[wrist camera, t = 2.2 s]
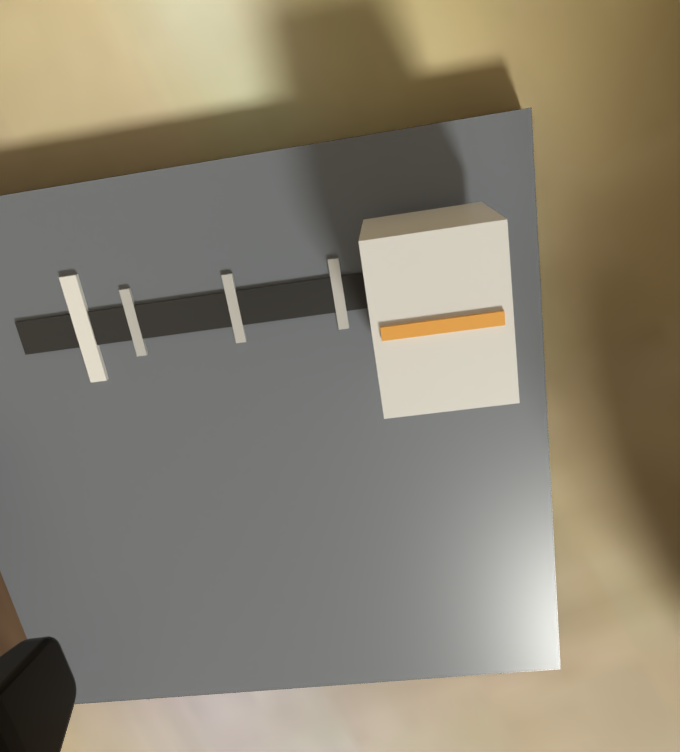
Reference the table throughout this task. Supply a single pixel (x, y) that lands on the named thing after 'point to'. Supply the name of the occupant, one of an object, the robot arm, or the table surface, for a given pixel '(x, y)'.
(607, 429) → the table surface
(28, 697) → the robot arm
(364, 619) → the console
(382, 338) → the fader
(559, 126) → the table surface
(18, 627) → the door
